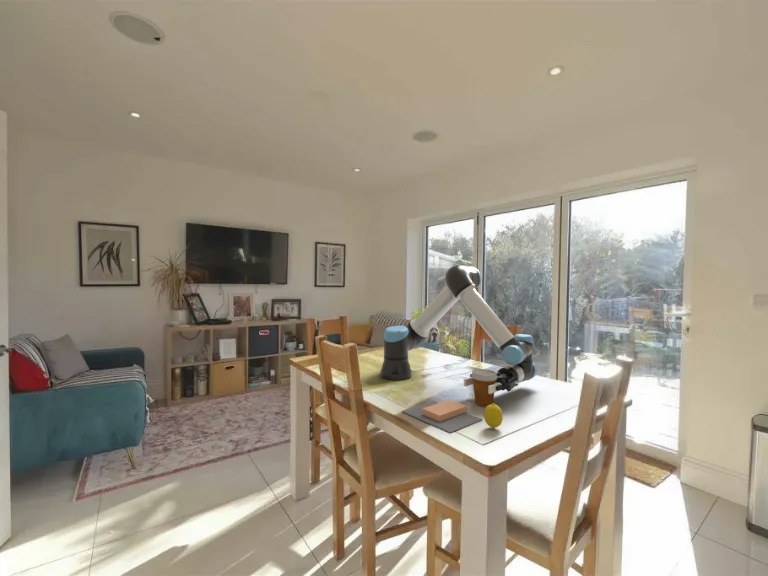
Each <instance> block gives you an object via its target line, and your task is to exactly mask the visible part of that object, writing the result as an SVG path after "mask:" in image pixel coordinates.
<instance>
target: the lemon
mask: <svg viewBox="0 0 768 576" xmlns="http://www.w3.org/2000/svg"><path fill="white" fill-rule="evenodd" d="M483 416H484V417H483V418H484V422H485V423H486V425H487V426H488V427H490V428H491V429H492V430H494V429H496V428H499V427H500V426H501V424H502V423H503V419H504V418H503V411H502V409H501V407H499V405H497V404H496V403H494V402H493V403H492V404H490V405H488V406H487V407H485V409H484V413H483Z"/></svg>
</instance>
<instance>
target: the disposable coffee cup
mask: <svg viewBox="0 0 768 576" xmlns="http://www.w3.org/2000/svg"><path fill="white" fill-rule="evenodd" d="M496 373H497V371H493V370H491V369H482V368H481V369H480V368H479V369H478V368H477V369H474V370H472V373H470V374H471V376H472V378H473V384H472V387H473V393H474V395H473V397H474V404H475V405H476V406H479V407H481V408H482V407H483V408H486V407H487V406H488V405H490V404H492V403H494V397H495V392H494V393H491V394H489V393H488V386H490V385H493V384H496V380H497V378H498V376H497V374H496Z"/></svg>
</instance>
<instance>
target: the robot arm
mask: <svg viewBox="0 0 768 576" xmlns="http://www.w3.org/2000/svg"><path fill="white" fill-rule="evenodd" d="M444 279H445V280H444V281H445V287H443V289H442V290H441V291H440V292H439V293H438V294H437V295H436V297H434V298H433V300H432V301H431V302H429V304H428V305H427V306H426V308H424V310H423V311H421V313H420V314H419V315H418V316H417V317H416V318H415V319H413V318H412V319H411V320H410V321H408V323H407V324H406V325H395V326H393V325H392V326H388V327H387V328H385V329H384V331H383V362H382V365H381V369H380V371H379V374H380V375H379V376H380V377H381V378H382V379H386V380H388V381H403V380H409V379H410V378H412V376H413V373H412V372H413V371H412V369H411V365H410V361H409V351H412V350H415V349H416V350H417V349H418V348H420V347H422V346H423V345H424V344H425V342H426V341H427V338H428V336H429V333H430V330H431V329H432V328H433V327H434V326H435V325H436V324H437V323H438V322H439V321H440V319H442V318H443V316H444V315H445V314H446V313H447V312H448V311H449V310H450V309H451V308H452V307H454V305H455V304H456V302H457V303H458V301H460V302H461V303H463V305H464V306H465V308H467V310H468V311H469V312H470V314H471V315H472V316H473V317H474V319H475V321H477V322H478V324H479V325H480V327H481V328H482V329H483V331H485V333H486V334H487V335H488V337H489V338H490V339H491V340H492V341H493V343H494V344H495V345H496V347H497V348H498V349H499V350H500V352H501V356H502V359H503V361H504V362H505V363H506V364H507V366H504V367H500V368H499V369H498V371H496V374H497V376H498V378H497V380H496V384H493V385H490V386H488V393H489V394H491V393H494V394H495V393H497V392H499V391H505V390H506V392H511V391H512V390H513V389H514V388H515V387H517V386H518V385H519V384H520V383H523V382H525V381H530V380H532V379H533V378H535V377H536V376H537V373H538V369H537V366H536V364H535V363H534V361H533V353H534V351H533V350H534V339H533V336H532V335H530V334H525V333H518V334H517V333H516V334H514V335H513V333H512V332H511V331H510V330H509V329H508V327H507V326H506V325H505V324H504V322H502V320H501V319H500V318H499V316H498V315H497V314H496V312H494V311H493V308H491V307H490V306H489V303H487V302H486V300H485V299H484V298H483V297H482V295H481V294H480V293H479V292H478V291H477V289H478V288H479V287H480V285H481V284H482V283H481V282H482V273H481V272H480V271H479V269H478V268H476V267H475V266H472V265H463V264H455V265H453V266H450V268H448V269H447V271H446V273H445V277H444ZM471 374H472V373H470V375H469V377H466V378H464V379H463V386H464V387H468V386H473V378H472V376H471Z"/></svg>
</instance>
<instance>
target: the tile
mask: <svg viewBox="0 0 768 576" xmlns="http://www.w3.org/2000/svg"><path fill="white" fill-rule="evenodd" d="M462 413H468V405H466V404H463V403H460V402H457V401H455V400H451V399H447V400H445V401H442V402H438V404H435V405H432V406H429V407H425V408H422V414H423V415H425V416H427V417H429V418H432V419H434V420H436V421H439V422H441V421H444V420H446V419H449V418H452V417H454V416H457V415H460V414H462Z"/></svg>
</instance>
